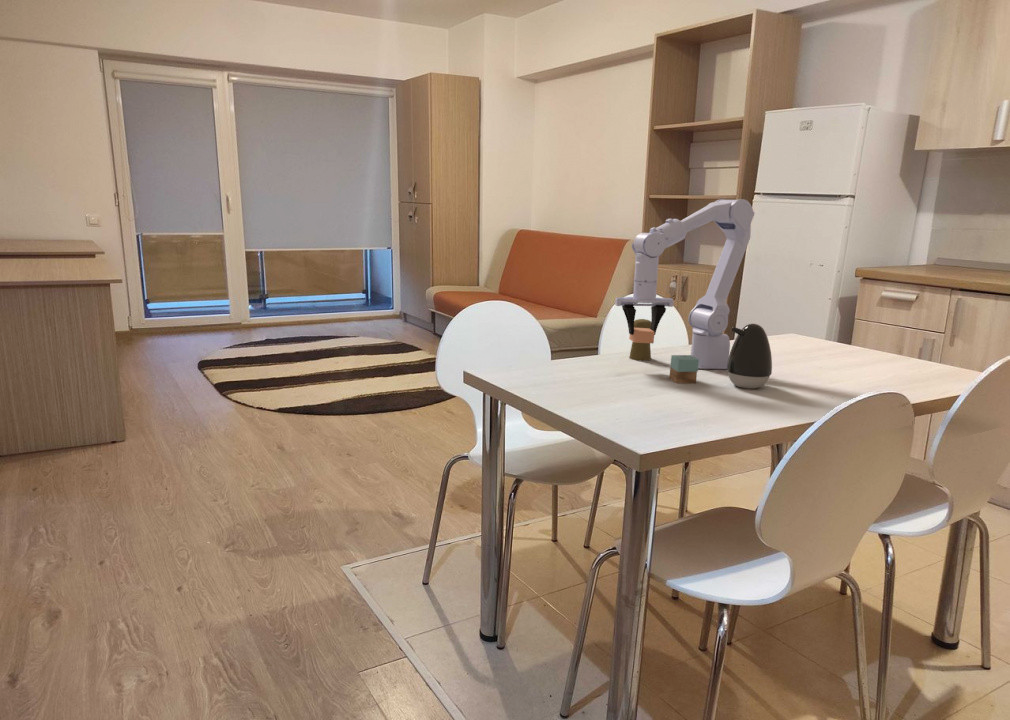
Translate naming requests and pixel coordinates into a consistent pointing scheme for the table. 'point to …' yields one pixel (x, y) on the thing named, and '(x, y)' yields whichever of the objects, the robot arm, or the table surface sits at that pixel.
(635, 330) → the orange block
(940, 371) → the table surface
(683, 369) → the teal slab
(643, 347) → the olive upright rounded piece
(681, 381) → the walnut slab
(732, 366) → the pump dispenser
